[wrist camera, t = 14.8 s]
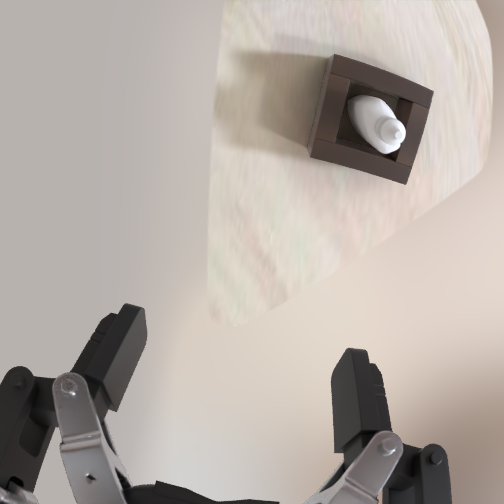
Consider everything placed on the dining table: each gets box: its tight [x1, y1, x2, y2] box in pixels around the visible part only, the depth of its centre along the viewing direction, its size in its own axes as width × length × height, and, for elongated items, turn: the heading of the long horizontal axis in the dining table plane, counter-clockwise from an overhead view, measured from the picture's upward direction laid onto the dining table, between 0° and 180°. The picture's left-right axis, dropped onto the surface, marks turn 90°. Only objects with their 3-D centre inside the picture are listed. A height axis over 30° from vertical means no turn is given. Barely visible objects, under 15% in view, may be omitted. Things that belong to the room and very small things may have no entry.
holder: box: [307, 54, 434, 185], centre depth 29 cm, size 12×12×4 cm
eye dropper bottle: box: [348, 95, 406, 154], centre depth 26 cm, size 4×6×12 cm
